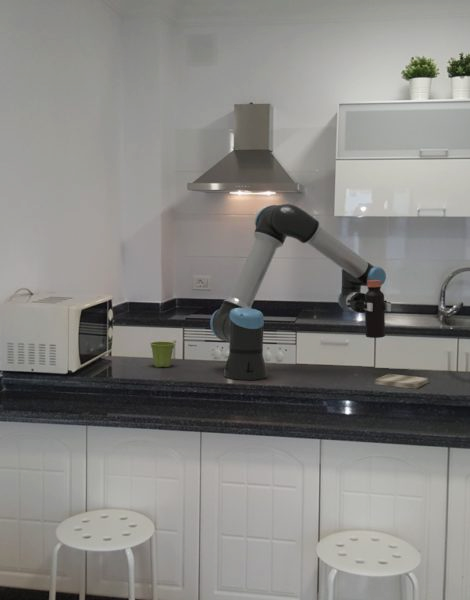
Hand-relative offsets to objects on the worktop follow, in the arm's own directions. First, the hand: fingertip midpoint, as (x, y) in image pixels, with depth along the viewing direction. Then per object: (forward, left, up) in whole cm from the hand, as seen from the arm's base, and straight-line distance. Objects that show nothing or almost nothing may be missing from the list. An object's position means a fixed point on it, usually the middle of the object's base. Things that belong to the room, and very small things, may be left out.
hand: (380, 307), depth 247 cm
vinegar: (-3, +4, -11) cm, 12 cm away
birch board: (+10, -4, -25) cm, 27 cm away
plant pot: (-75, -25, -25) cm, 83 cm away
